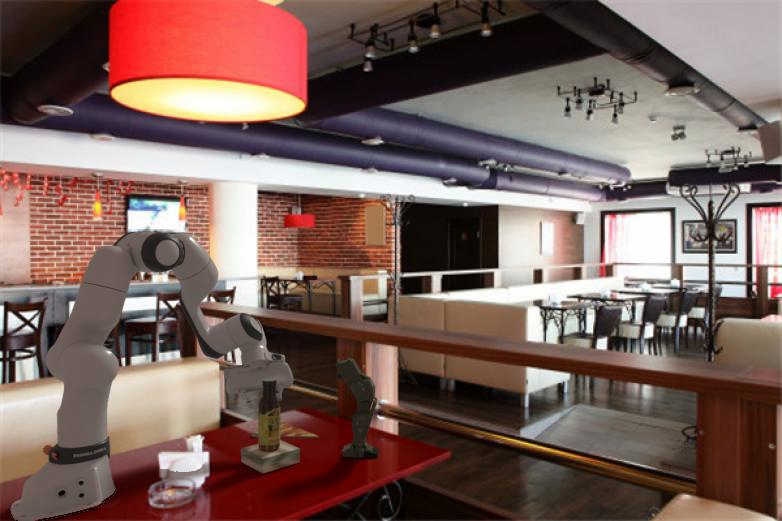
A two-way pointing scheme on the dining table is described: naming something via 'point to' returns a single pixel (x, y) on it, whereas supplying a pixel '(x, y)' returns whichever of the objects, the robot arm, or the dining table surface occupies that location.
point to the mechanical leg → (359, 408)
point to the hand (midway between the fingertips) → (263, 401)
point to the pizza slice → (290, 431)
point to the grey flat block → (270, 457)
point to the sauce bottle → (269, 417)
